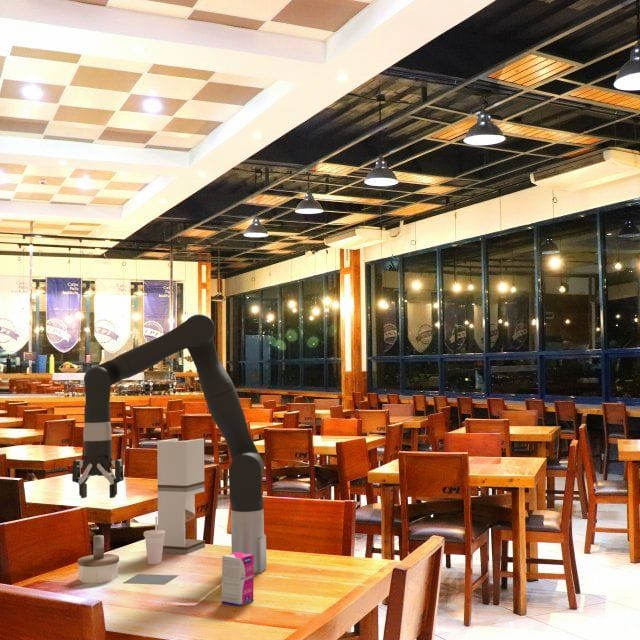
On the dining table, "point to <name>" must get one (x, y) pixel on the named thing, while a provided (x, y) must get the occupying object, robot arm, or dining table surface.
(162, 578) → the mat
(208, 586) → the dining table surface
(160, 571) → the dining table surface
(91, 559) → the lid
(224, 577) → the supplement box
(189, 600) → the dining table surface
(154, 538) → the smoothie
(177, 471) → the white coffee maker
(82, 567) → the bowl
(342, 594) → the dining table surface
